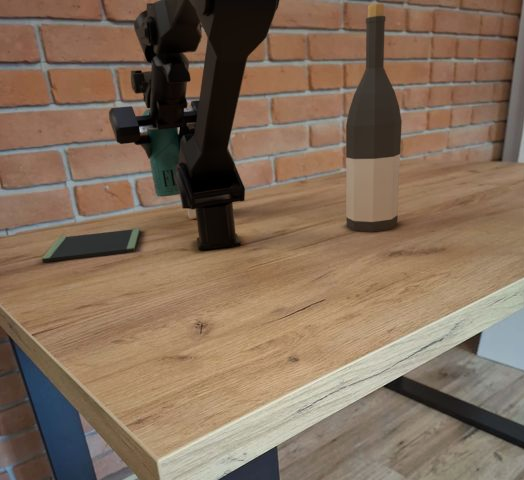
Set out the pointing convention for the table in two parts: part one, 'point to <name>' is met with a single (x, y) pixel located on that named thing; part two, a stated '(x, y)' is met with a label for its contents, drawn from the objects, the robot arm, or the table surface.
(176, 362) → the table surface
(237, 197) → the robot arm
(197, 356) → the table surface
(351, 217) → the wine bottle
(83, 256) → the dark square mat
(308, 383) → the table surface
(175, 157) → the beverage bottle
